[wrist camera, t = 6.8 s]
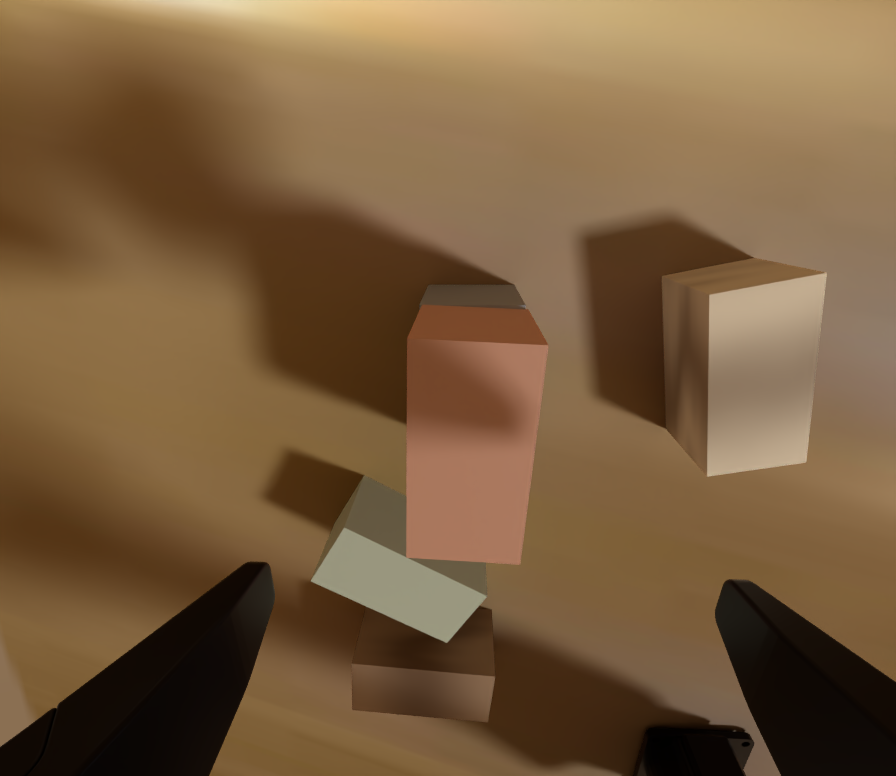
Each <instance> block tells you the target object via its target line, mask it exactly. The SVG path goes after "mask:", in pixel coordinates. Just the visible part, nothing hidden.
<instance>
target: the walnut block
mask: <svg viewBox="0 0 896 776" xmlns="http://www.w3.org/2000/svg"><path fill="white" fill-rule="evenodd" d="M494 682H495V662H494V643H493V625H492V610H490V609H479V608H477V609H476V610H475V611H474V612H473V613H472V615H471V616H470V617H469V618H468V619H467V620H466V621H465V623H464V624H463V625H462V626H461V627H460V628H459V630H458V631H457V632H456V633H455V634H454V635H453V637H452V638H451V639H450V640H449V641H448V642H447V643H446V642H444V641H441V640H439V639H437V638H435V637H433V636H430V635H428V634H426V633H424V632H421V631H419V630H417V629H415V628H413V627H410V626H408V625H406V624H404V623H402V622H399V621H397V620H395V619H393V618H391V617H388V616H386V615H384V614H382V613H380V612H377V611H375V610H373V609H371V608H369V607H366V609H365V613H364V617H363V620H362V624H361V628H360V632H359V636H358V640H357V644H356V648H355V652H354V656H353V660H352V710H358V711H369V712H380V713H391V714H402V715H412V716H423V717H434V718H445V719H456V720H467V721H478V722H488V718H489V712H490V706H491V700H492V694H493V688H494Z"/></svg>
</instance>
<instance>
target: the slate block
mask: <svg viewBox="0 0 896 776" xmlns="http://www.w3.org/2000/svg"><path fill="white" fill-rule="evenodd" d="M422 305H442V306H463V307H485V308H506V309H525V307H526V305H525V303H524V301H523V300H522V298H521V296H520V294H519V292H518V291H517V289H516V287H515V285H428V287H427V289H426V291H425V294H424V296H423V298H422V300H421V302H420V304H419V310H420V308H421V306H422Z"/></svg>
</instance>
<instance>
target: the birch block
mask: <svg viewBox="0 0 896 776" xmlns="http://www.w3.org/2000/svg"><path fill="white" fill-rule="evenodd" d="M826 276H827V273H825V272H821V271H816V270H811V269H806V268H801V267H796V266H791V265H786V264H782V263H777V262H772V261H767V260H762V259H757V258H751V259H746V260H741V261H736V262H730V263H725V264H720V265H715V266H710V267H705V268H700V269H694V270H689V271H684V272H679V273H674V274H669V275H664V276H662V304H663V340H664V375H665V411H666V429H667V431H668V432H669V433H670V434H671V435H672V436H673V438H674V439H675V440H676V441H677V442H678V443H679V444H680V446H681V447H682V448H683V449H684V450H685V451H686V453H687V454H688V455H689V456H690V457H691V458H692V460H693V461H694V462H695V463H696V464H697V465H698V467H699V468H700V469H701V470H702V471H703V472H704V474H705V475H706V476H714V475H721V474H728V473H735V472H743V471H750V470H757V469H764V468H771V467H778V466H785V465H792V464H799V463H806V459H807V450H808V441H809V431H810V422H811V413H812V404H813V395H814V386H815V377H816V367H817V358H818V349H819V340H820V331H821V322H822V312H823V303H824V294H825V285H826Z"/></svg>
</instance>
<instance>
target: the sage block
mask: <svg viewBox="0 0 896 776" xmlns="http://www.w3.org/2000/svg"><path fill="white" fill-rule="evenodd" d="M406 503H407V497H406V496H405V495H403V494H401V493H399V492H397V491H395V490H393V489H391V488H389V487H387V486H385V485H383V484H381V483H379V482H377V481H375V480H373V479H371V478H369V477H367V476H365V475H364V476H363V478H362V479H361V481H360V483H359V484H358V486H357V488H356V489H355V491H354V492H353V494H352V496H351V497H350V499H349V501H348V502H347V504H346V505H345V507H344V509H343V510H342V512H341V514H340V515H339V517H338V519H337V520H336V522H335V523H334V526H333V528H332V531H331V533H330V535H329V538H328V540H327V543H326V545H325V547H324V550H323V552H322V555H321V557H320V560H319V562H318V564H317V567H316V569H315V572H314V574H313V576H312V579H311V582H313V583H316V584H318V585H320V586H322V587H324V588H327V589H329V590H331V591H333V592H336V593H338V594H340V595H342V596H344V597H347V598H349V599H351V600H353V601H355V602H358V603H360V604H362V605H364V606H366V607H369V608H371V609H373V610H375V611H377V612H380V613H382V614H384V615H386V616H388V617H391V618H393V619H395V620H397V621H399V622H402V623H404V624H406V625H408V626H410V627H413V628H415V629H417V630H419V631H421V632H424V633H426V634H428V635H430V636H433V637H435V638H437V639H439V640H441V641H444V642H446V643H447V642H448V641H449V640H450V639H451V638H452V637H453V635H454V634H455V633H456V632H457V631H458V630H459V628H460V627H461V626H462V625H463V624H464V623H465V621H466V620H467V619H468V618H469V617H470V616H471V615H472V613H473V612H474V611H475V610H476V609H477V608H478V606H479V605H480V604H481V603H482V602H483V601H484V599H485V598H486V597H487V581H486V562H469V561H452V560H435V559H419V558H406Z"/></svg>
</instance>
